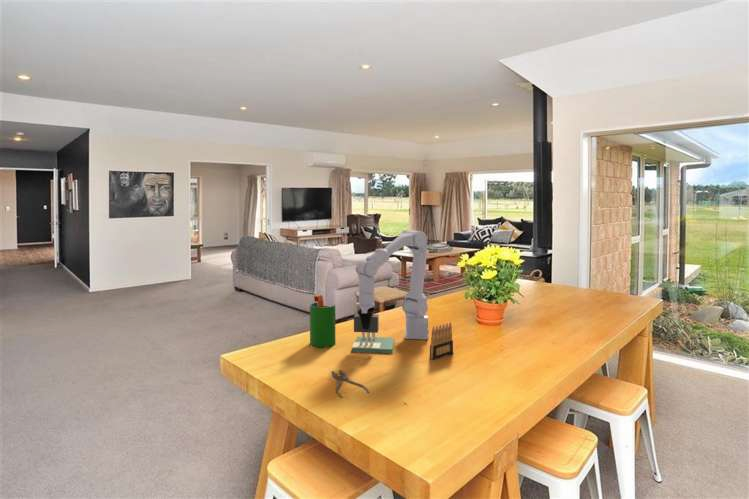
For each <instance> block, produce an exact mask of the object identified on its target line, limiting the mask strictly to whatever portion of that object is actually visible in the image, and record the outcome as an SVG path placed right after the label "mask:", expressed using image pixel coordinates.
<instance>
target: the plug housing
mask: <svg viewBox="0 0 749 499" xmlns="http://www.w3.org/2000/svg"><path fill="white" fill-rule="evenodd" d="M379 317H380V315H379V313H378V314H377V313H373V314H372V316H371V319H370V325H369V329H363V327H362V322H361V318H360V316H359V314H358V313H355V314H354V316H353V332H354V333H362V332H365V333H367V332H369V333H370V334H372V333H375V334H377V333H379V330H380V329H379V325H380V322H379V321H380V320H379Z"/></svg>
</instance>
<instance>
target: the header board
mask: <svg viewBox="0 0 749 499" xmlns="http://www.w3.org/2000/svg"><path fill="white" fill-rule="evenodd" d="M394 346H395V337H389V336H388V337H385V336H384V337H383V336H382V337H381V336H376V333H369V332H361V336H356V338H355V341H354V342H353V344H352V346H351V351H352V353H367V354H368V353H371V354H393V351H394Z"/></svg>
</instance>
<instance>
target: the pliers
mask: <svg viewBox="0 0 749 499" xmlns="http://www.w3.org/2000/svg"><path fill="white" fill-rule="evenodd" d="M339 373H340V375H338V373H336V372H335V371H334V370H331V374H332V377H333V378H334V379H335V380H337V382H338V383H337V386H336V387H335V393H336V395H337V396H338V397H340V399H343V398H344V397H343V396H342V394H340V392H339V389H340V388H341V386H342V384H343V381H345V382H347V383H350V384H353V385H356V386H358V387H360V388H361V387H362V388H363V389H364V390H365V391H366V393H367V394H370V390H369V389H368V388H367V387H366V386H365V385H363V384H361V383H358V382H356V381H353V380H351V379H350V378H349V377H348V376H347V374H346V373H345V372H344V371H343V370H341V369H340V370H339Z"/></svg>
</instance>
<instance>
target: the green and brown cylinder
mask: <svg viewBox="0 0 749 499" xmlns="http://www.w3.org/2000/svg"><path fill="white" fill-rule="evenodd" d="M313 301H314V302H312V303H310V304H309V344H310V346H312V347H314V348H330V347H333V346H335V345H336V304H335V305H330V306H328V305H325V303H324V297H323V295H320V294H315V295H314V297H313Z"/></svg>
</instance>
